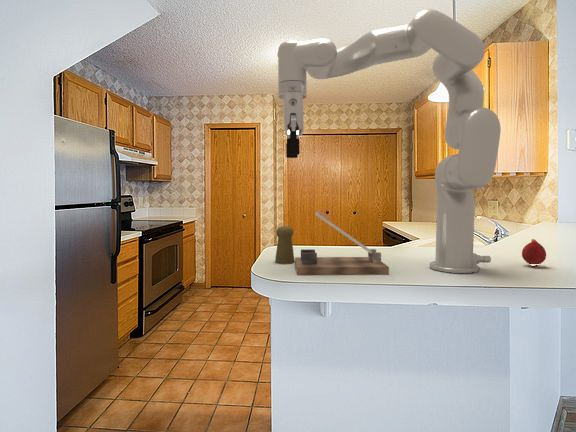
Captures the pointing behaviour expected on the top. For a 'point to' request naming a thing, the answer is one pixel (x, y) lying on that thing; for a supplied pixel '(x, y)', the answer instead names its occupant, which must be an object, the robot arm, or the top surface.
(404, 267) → the top surface
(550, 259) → the top surface
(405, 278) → the top surface
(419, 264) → the top surface
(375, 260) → the board
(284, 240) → the pepper mill
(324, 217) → the hinged lever bar
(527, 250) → the onion
